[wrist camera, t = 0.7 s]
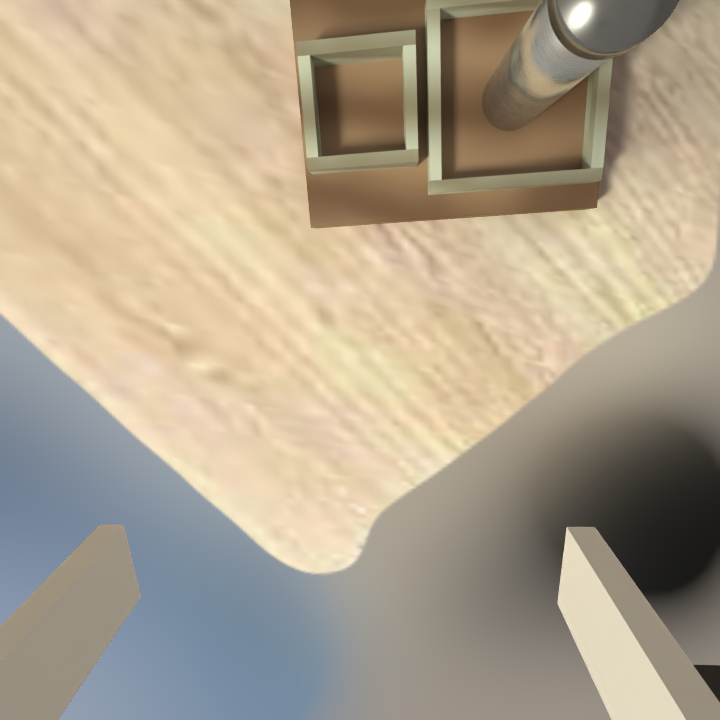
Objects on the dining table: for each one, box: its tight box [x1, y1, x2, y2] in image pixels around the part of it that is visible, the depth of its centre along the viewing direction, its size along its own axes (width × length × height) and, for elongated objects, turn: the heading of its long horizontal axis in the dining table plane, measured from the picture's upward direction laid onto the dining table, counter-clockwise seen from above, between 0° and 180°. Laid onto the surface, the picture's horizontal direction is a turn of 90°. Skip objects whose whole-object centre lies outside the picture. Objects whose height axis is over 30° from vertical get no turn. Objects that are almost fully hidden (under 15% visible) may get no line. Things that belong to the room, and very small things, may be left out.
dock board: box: [290, 0, 613, 228], centre depth 29 cm, size 15×21×4 cm
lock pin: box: [482, 0, 679, 131], centre depth 22 cm, size 5×5×14 cm
